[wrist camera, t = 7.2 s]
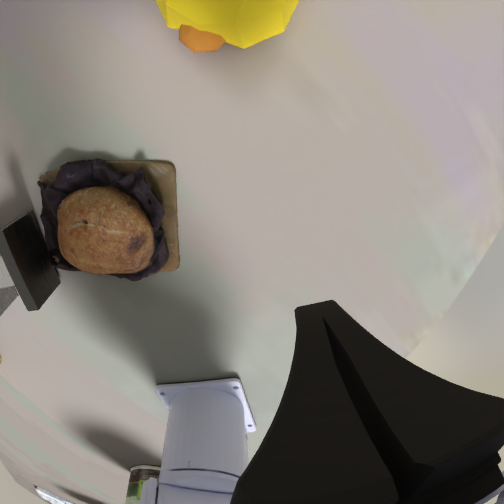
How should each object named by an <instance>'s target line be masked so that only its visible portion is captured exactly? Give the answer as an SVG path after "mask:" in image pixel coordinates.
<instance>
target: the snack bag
mask: <svg viewBox="0 0 504 504" xmlns="http://www.w3.org/2000/svg"><path fill="white" fill-rule="evenodd" d="M35 489H36V490H37V492H38V494H39V495H40V497H42V498H44V499H46V500H48V501H49V502H51V503H53V504H65V503H67V504H74V503H72V502H69V501H67V500H65V499H63V498H60V497H58V496H56V495H54V494H52V493H50V492H48V491H46V490H44V489H42V488H40V487H38V486H37V488H35ZM64 502H65V503H64Z"/></svg>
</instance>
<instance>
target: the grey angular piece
mask: <svg viewBox="0 0 504 504" xmlns="http://www.w3.org/2000/svg"><path fill="white" fill-rule="evenodd" d="M60 283H61V282H60V280H59V277H58V275H57V273H56V271H55V268H54V266H53V265H52V264H51V262H50V260H49V256H48V252H47V250H46V247H45V245H44V242H43V239H42V237H41V234H40V232H39V229H38V226H37V223H36V221H35V218H34V215H33V212H32V211H30V212H28V213H25V214H23V215H21V216H19V217H18V218H16V219H15V220H13V221H12V222H10V223H9V224H7V225H6V226H4V227H3V228H1V229H0V288H5V287H9V286H14V285H15V287H16V289H17V291H18V293H19V295H20V297H21V299H22V301H23V302H24V304H25V306H26V308H27V310H28V311H34V310H39V309H40V308H41V306H42V305H43V304H44V303H45V301H46V300H47V299H48V298H49V296H50V295H51V294H52V293H53V291H54V290H55V289H56V288H57V287H58V285H59V284H60Z"/></svg>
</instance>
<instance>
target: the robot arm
mask: <svg viewBox="0 0 504 504" xmlns="http://www.w3.org/2000/svg"><path fill="white" fill-rule="evenodd" d="M294 311H295V318H296V326H297V331H296V342H295V350H294V356H293V361H292V365H291V370H290V374H289V378H288V381H287V385H286V388H285V391H284V394H283V397H282V400H281V402H280V405H279V407H278V410H277V412H276V415H275V417H274V419H273V422H272V424H271V426H270V428H269V430H268V432H267V434H266V435H265V437H264V439H263V441H262V443H261V445H260V447H259V449H258V450H257V452H256V454H255V455H254V457H253V458H252V460H251V461H250V463H249V457H248V438H247V432H254V431H256V425H255V422H254V420H253V417H252V414H251V411H250V408H249V405H248V402H247V399H246V396H245V393H244V390H243V387H242V384H241V381H240V380H239V379H237V378H230V379H222V380H213V381H203V382H192V383H179V384H164V385H157V386H156V391H157V393H158V394H159V396H160V398H161V399H162V401H163V402H164V404H165V405H166V407H167V408H168V410H169V416H168V422H167V429H166V435H165V442H164V449H163V456H162V464H161V471H160V475H159V478H158V482H157V479H156V478H152V477H150V478H149V480H146V481H144V482H143V485H142V492H141V498H140V504H484V503H486V502H487V501H489V500H490V499H491V498H493V497H495V496H496V495H498V494H499V493H500V494H499V496H498V499H497V502H496V503H495V504H504V471H503V472H501V471H500V469H499V467H498V464H499V463H500V462H501V458H500V456H499V454H498V451H499V450H500V449H501V447H502V446H503V445H504V399H503V398H500V397H495V396H492V395H488V394H484V393H480V392H477V391H473V390H470V389H467V388H464V387H462V386H459V385H456V384H454V383H451V382H449V381H447V380H444V379H442V378H440V377H438V376H436V375H434V374H431V373H430V372H427V371H425V370H423V369H422V368H420V367H418V366H416V365H414V364H413V363H411V362H409V361H408V360H406V359H405V358H403V357H401V356H400V355H398V354H397V353H395V352H394V351H393V350H391V349H390V348H388V347H387V346H386V345H384V344H383V343H382V342H380V341H379V340H378V339H376V338H375V337H374V336H373V335H372V334H370V333H369V332H368V331H367V330H366V329H364V328H363V327H362V326H361V325H360V324H359V323H357V322H356V321H355V320H354V319H353V318H352V317H351V316H350V315H349V314H348V313H347V312H345V311H344V310H343V309H342V308H341V307H340V306H339V305H338V304H337V303H336V302H335V301H334V300H329V301H324V302H320V303H315V304H310V305H305V306H300V307H297V308H296V309H295V310H294Z"/></svg>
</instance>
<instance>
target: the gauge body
mask: <svg viewBox="0 0 504 504" xmlns="http://www.w3.org/2000/svg"><path fill="white" fill-rule="evenodd" d="M17 296H18V293H17V291H16V289H15V287H14V286H9V287H5V288H0V316H1V315H2V314H3V312H4V311H5V310H6V309H7V308H8V306H9V305H10V304H11V303H12V302H13V301H14V300H15V299H16V297H17Z"/></svg>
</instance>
